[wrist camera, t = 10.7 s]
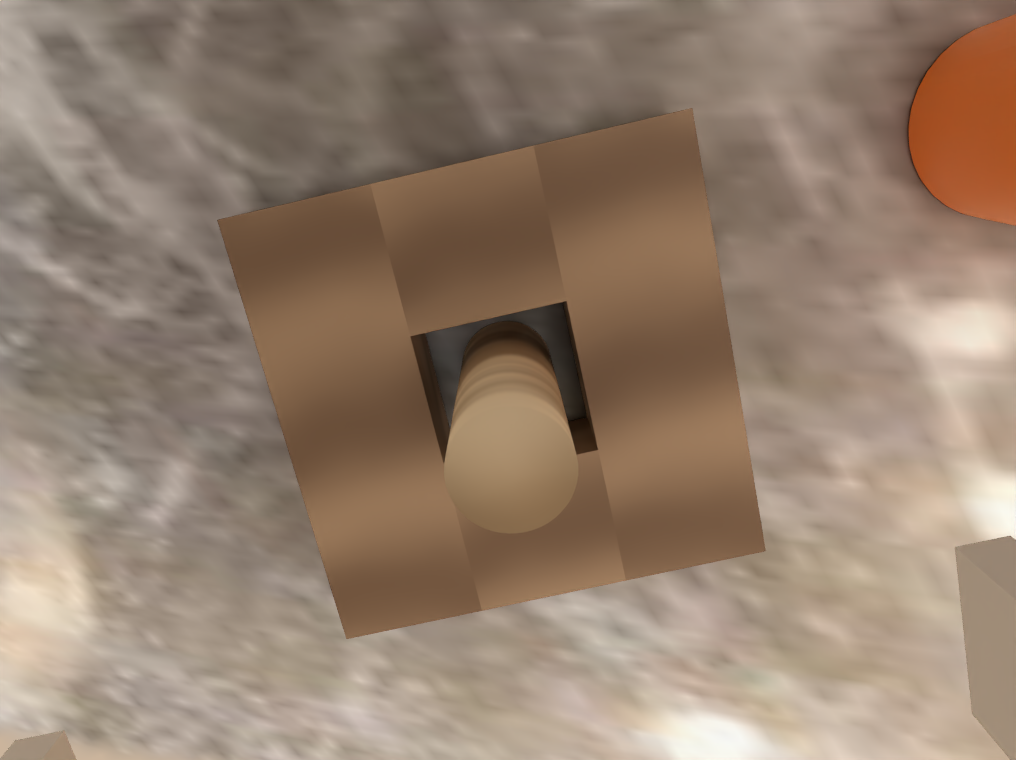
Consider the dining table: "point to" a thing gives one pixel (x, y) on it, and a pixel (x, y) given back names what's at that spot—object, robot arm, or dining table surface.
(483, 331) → the peg
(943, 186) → the shaker bottle
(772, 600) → the dining table surface
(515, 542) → the socket block
